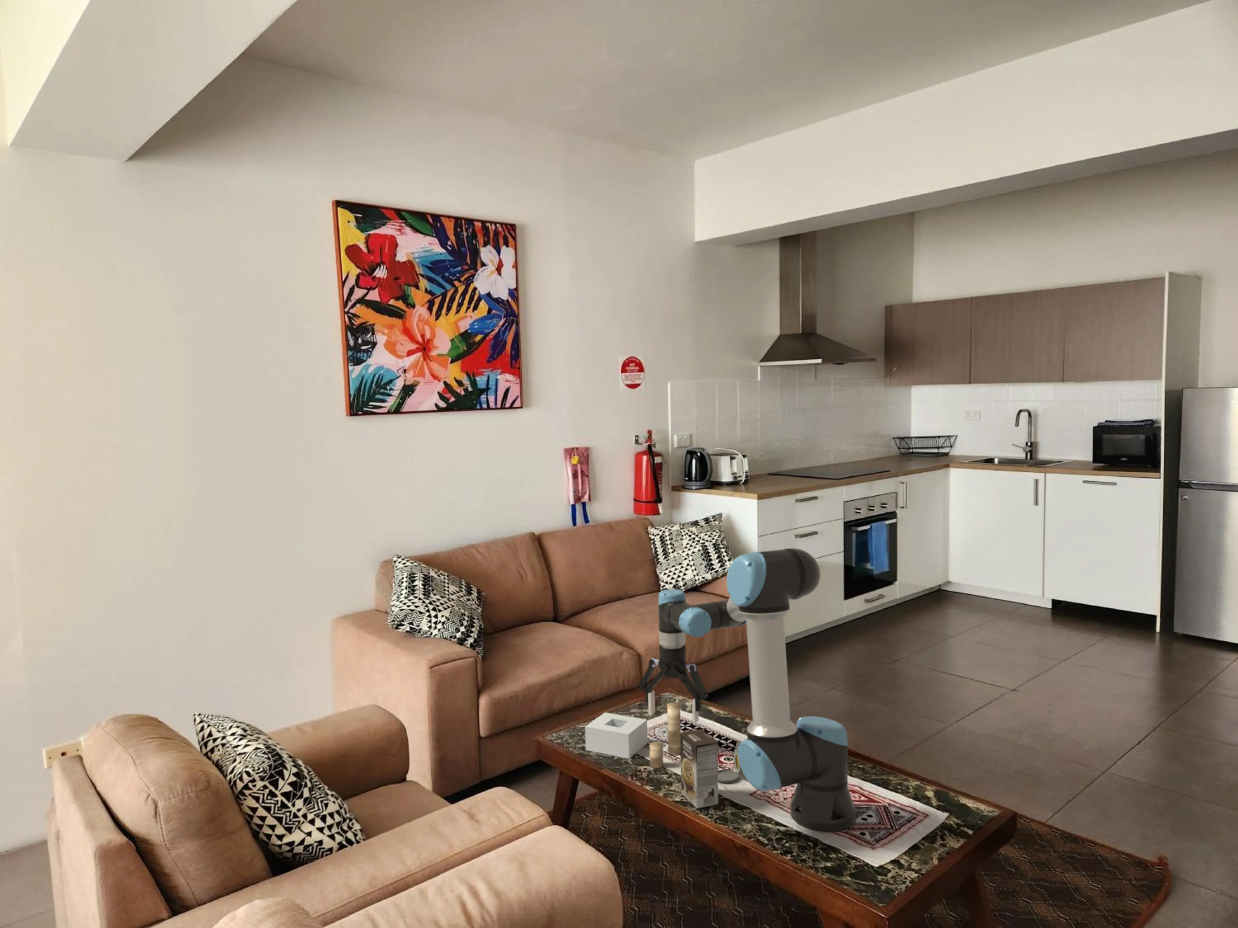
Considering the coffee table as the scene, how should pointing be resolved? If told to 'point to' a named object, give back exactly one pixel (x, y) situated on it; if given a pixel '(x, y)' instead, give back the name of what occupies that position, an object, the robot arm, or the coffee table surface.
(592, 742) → the hole block
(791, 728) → the robot arm
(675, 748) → the tall peg
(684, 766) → the coffee box
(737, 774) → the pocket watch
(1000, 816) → the coffee table surface
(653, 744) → the short peg
